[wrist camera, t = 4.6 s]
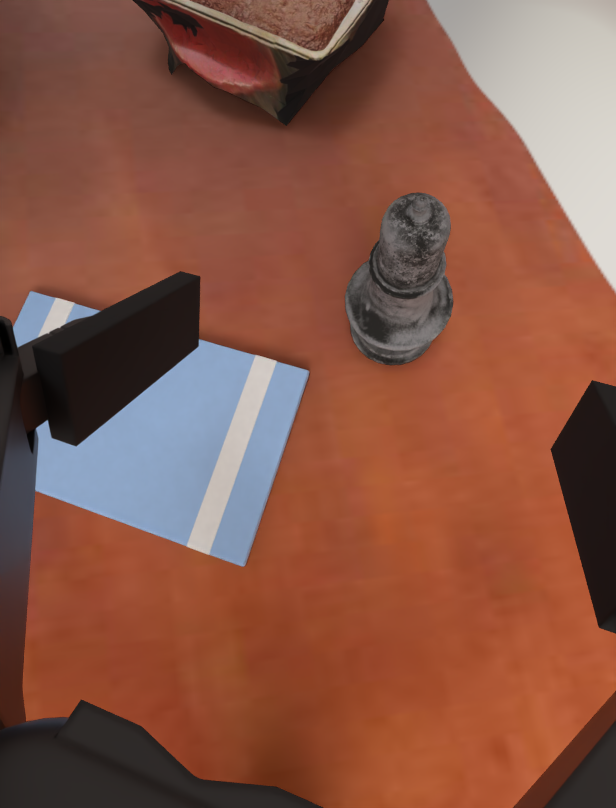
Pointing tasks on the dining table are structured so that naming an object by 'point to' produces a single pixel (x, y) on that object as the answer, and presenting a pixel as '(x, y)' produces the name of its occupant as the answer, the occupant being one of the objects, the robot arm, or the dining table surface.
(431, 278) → the salt shaker
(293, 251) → the dining table surface
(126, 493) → the cloth
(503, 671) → the dining table surface
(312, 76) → the baking dish
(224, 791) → the robot arm
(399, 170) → the dining table surface
